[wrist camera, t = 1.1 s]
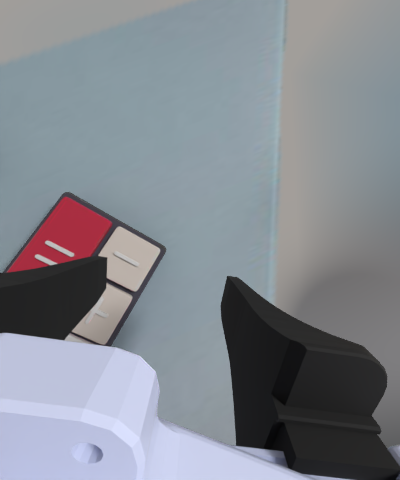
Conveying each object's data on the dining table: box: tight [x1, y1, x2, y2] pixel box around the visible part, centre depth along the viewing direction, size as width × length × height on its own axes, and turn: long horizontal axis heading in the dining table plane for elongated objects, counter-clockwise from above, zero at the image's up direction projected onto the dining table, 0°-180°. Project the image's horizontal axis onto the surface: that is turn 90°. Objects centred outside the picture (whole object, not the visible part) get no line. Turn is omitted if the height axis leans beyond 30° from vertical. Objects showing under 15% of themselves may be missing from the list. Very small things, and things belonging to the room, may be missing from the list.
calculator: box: [3, 192, 166, 347], centre depth 18 cm, size 11×4×15 cm
